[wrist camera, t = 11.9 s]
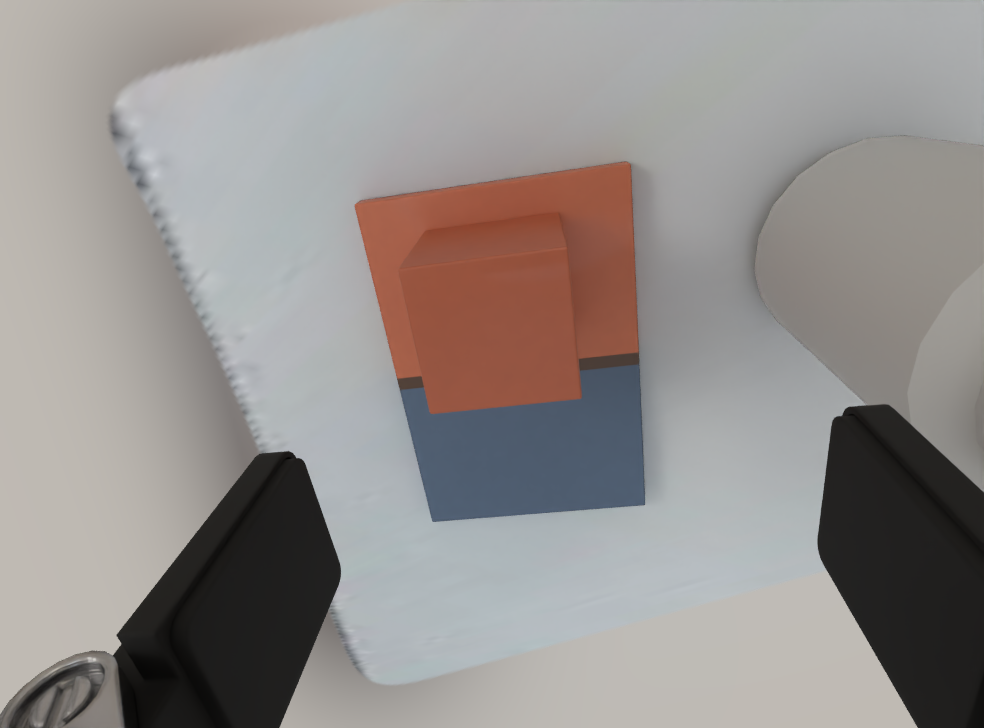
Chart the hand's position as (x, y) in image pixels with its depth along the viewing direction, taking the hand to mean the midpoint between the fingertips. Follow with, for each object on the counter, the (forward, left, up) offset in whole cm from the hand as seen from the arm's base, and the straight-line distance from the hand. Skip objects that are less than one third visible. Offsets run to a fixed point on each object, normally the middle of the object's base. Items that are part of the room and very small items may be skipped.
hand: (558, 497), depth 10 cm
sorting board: (+1, +4, -14) cm, 14 cm away
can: (-12, 0, -14) cm, 18 cm away
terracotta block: (+2, 0, -13) cm, 13 cm away
